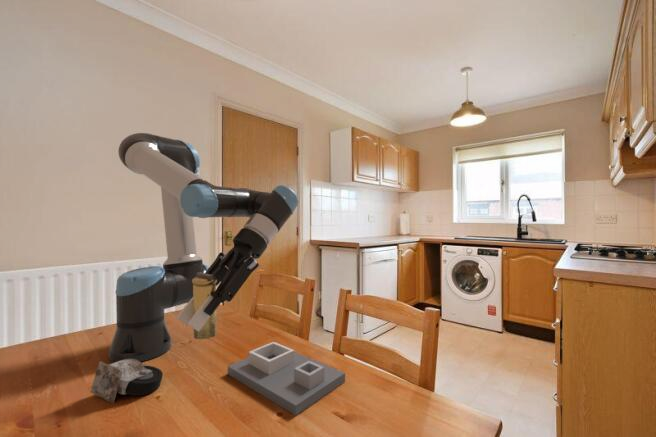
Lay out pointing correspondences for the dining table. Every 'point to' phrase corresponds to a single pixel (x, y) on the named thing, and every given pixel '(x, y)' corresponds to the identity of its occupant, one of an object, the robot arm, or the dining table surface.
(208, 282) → the amber translucent cylinder
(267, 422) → the dining table surface
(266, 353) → the board
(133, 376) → the caster wheel
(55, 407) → the dining table surface
